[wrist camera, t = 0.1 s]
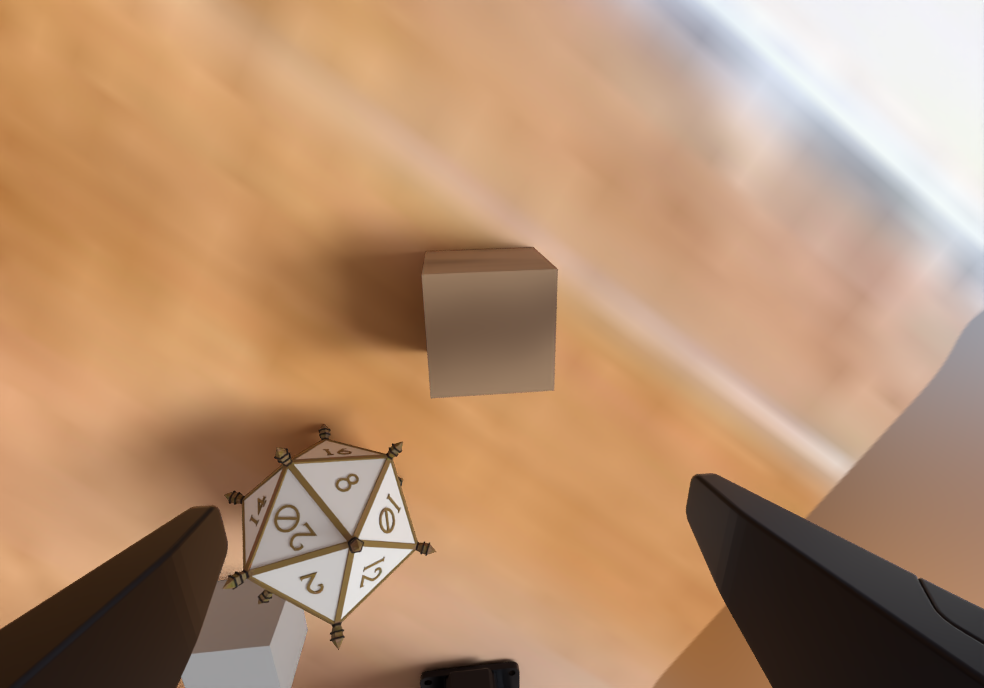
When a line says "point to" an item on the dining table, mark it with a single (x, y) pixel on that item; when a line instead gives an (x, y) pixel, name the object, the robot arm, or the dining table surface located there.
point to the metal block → (489, 321)
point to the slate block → (246, 641)
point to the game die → (326, 529)
